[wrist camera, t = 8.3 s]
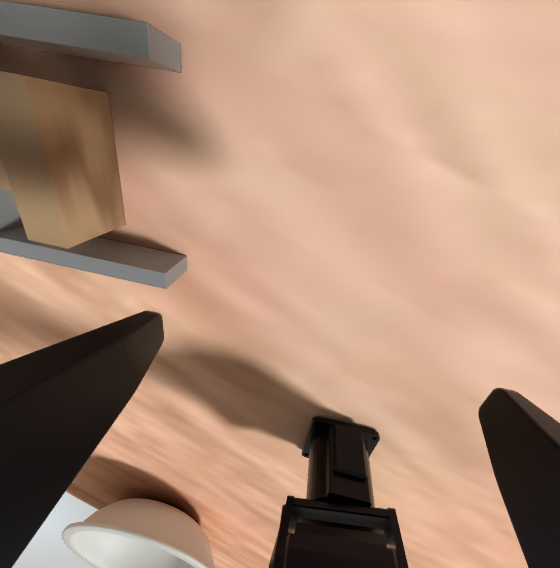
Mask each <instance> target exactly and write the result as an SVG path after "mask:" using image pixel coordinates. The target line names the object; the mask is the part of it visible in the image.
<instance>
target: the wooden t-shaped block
mask: <svg viewBox="0 0 560 568" xmlns="http://www.w3.org/2000/svg"><path fill="white" fill-rule="evenodd" d="M0 188H1V189H5V190H10V191H12V193H13V196H14V199H15V202H16V205H17V208H18V211H19V214H20V217H21V220H22V223H23V226H24V229H25V232H26V235H27V238H28V240H32V241H36V242H40V243H45V244H49V245H54V246H58V247H62V248H67V249H68V248H71V247H73V246H76V245H78V244H80V243H83V242H85V241H88V240H90V239H92V238H95V237H97V236H100V235H102V234H104V233H107V232H109V231H112V230H114V229H117V228H119V227H121V226H124V225H126V221H125V214H124V206H123V199H122V191H121V183H120V176H119V168H118V161H117V153H116V146H115V138H114V131H113V123H112V116H111V108H110V100H109V93H106V92H101V91H96V90H91V89H87V88H82V87H77V86H72V85H68V84H63V83H58V82H53V81H48V80H44V79H39V78H34V77H29V76H25V75H19V74H14V73H9V72H3V71H0Z"/></svg>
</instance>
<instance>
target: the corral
mask: <svg viewBox="0 0 560 568" xmlns="http://www.w3.org/2000/svg"><path fill="white" fill-rule="evenodd" d="M0 44H6V45H12V46H18V47H25V48H31V49H37V50H43V51H49V52H56V53H62V54H68V55H74V56H80V57H87V58H93V59H99V60H105V61H111V62H117V63H124V64H130V65H136V66H142V67H148V68H155V69H161V70H167V71H173V72H179V73H181V44H180V43H178V42H176V41H175V40H173V39H172V38H170V37H169V36H167V35H165V34H164V33H162V32H161V31H159V30H158V29H156V28H154V27H153V26H151V25H150V24H148V23H147V22H141V21H134V20H127V19H120V18H114V17H107V16H100V15H94V14H87V13H80V12H73V11H67V10H60V9H53V8H47V7H40V6H33V5H26V4H20V3H13V2H6V1H0ZM0 252H2V253H7V254H11V255H16V256H20V257H25V258H29V259H34V260H38V261H43V262H47V263H52V264H56V265H61V266H65V267H70V268H74V269H79V270H83V271H88V272H92V273H97V274H101V275H106V276H110V277H115V278H119V279H123V280H128V281H132V282H137V283H141V284H146V285H150V286H155V287H159V288H164V289H167V288H168V287H169V286H170V285H171V284H172V283H173V282H175V281H176V280H177V279H178V278H179V277H180V276H181V275H182V274H183V273H184V272H185V271H187V256H184V255H180V254H175V253H170V252H166V251H161V250H156V249H151V248H147V247H142V246H137V245H133V244H128V243H123V242H118V241H114V240H109V239H104V238H100V237H95V238H92V239H90V240H88V241H85V242H83V243H80V244H78V245H76V246H73V247H71V248H68V249H67V248H62V247H58V246H54V245H49V244H45V243H40V242H36V241H32V240H28V238H27V235H26V232H25V229H24V226H23V223H22V220H21V217H20V214H19V211H18V208H17V205H16V202H15V199H14V196H13V193H12V191H10V190H5V189H1V188H0Z"/></svg>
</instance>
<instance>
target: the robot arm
mask: <svg viewBox="0 0 560 568" xmlns="http://www.w3.org/2000/svg"><path fill="white" fill-rule="evenodd" d="M163 340H164V330H163V320H162V316H161V314H159V313H156V312H152V311H143V312H140V313H138V314H135V315H132V316H130V317H127V318H124V319H122V320H119V321H116V322H114V323H111V324H108V325H105V326H103V327H100V328H97V329H95V330H92V331H89V332H87V333H84V334H81V335H78V336H76V337H73V338H70V339H68V340H65V341H62V342H60V343H57V344H54V345H51V346H49V347H46V348H43V349H41V350H38V351H35V352H33V353H30V354H27V355H24V356H22V357H19V358H16V359H14V360H11V361H8V362H6V363H3V364H0V568H12V566H13V565H14V564H15V562H16V561H17V559H18V558H19V556H20V555H21V554H22V552H23V551H24V549H25V548H26V547H27V545H28V544H29V542H30V541H31V539H32V538H33V537H34V535H35V534H36V532H37V531H38V529H39V528H40V527H41V525H42V524H43V522H44V521H45V520H46V518H47V517H48V515H49V514H50V512H51V511H52V510H53V508H54V507H55V505H56V504H57V502H58V501H59V500H60V498H61V497H62V495H63V494H64V493H65V491H66V490H67V488H68V487H69V485H70V484H71V483H72V481H73V480H74V478H75V477H76V475H77V474H78V473H79V471H80V470H81V468H82V467H83V465H84V464H85V463H86V461H87V460H88V458H89V457H90V456H91V454H92V453H93V451H94V450H95V448H96V447H97V446H98V444H99V443H100V441H101V440H102V438H103V437H104V436H105V434H106V433H107V431H108V430H109V429H110V427H111V426H112V424H113V423H114V421H115V420H116V419H117V417H118V416H119V414H120V413H121V411H122V410H123V409H124V407H125V406H126V404H127V403H128V401H129V400H130V399H131V397H132V396H133V394H134V393H135V391H136V389H137V388H138V386H139V384H140V383H141V381H142V379H143V377H144V375H145V374H146V372H147V370H148V368H149V366H150V365H151V363H152V361H153V359H154V358H155V356H156V354H157V352H158V350H159V349H160V347H161V345H162V343H163ZM478 414H479V420H480V424H481V427H482V431H483V435H484V438H485V442H486V446H487V449H488V453H489V456H490V460H491V464H492V467H493V471H494V474H495V478H496V481H497V484H498V487H499V490H500V492H501V495H502V498H503V501H504V503H505V506H506V509H507V511H508V514H509V517H510V519H511V522H512V525H513V527H514V530H515V533H516V535H517V538H518V541H519V543H520V546H521V549H522V551H523V554H524V557H525V559H526V562H527V565H528V567H529V568H560V423H559V422H557V421H556V420H555V419H553V418H552V417H551V416H549V415H548V414H547V413H545V412H544V411H542V410H541V409H540V408H538V407H537V406H536V405H534V404H533V403H532V402H530V401H529V400H528V399H526V398H525V397H523V396H522V395H521V394H519V393H518V392H516V391H513V390H508V389H504V388H496V389H494V390H493V391H492V392H491V393H490V395H489V396H488V397H487V398H486V400H485V401H484V402H483V404H482V405H481V406H480V408H479V413H478ZM379 439H380V437H379V433H378V432H376V431H372V430H368V429H364V428H360V427H356V426H352V425H348V424H344V423H340V422H336V421H332V420H328V419H324V418H320V417H314V418H313V419H312V422H311V425H310V428H309V431H308V434H307V437H306V440H305V443H304V446H303V449H302V456H304V457H307V458H309V467H308V482H307V497H306V499H302V498H294V496H287V501H286V504H285V505H283V507H282V514H281V522H280V528H279V532H278V536H277V539H276V543H275V546H274V550H273V553H272V556H271V560H270V563H269V568H408V564H407V559H406V555H405V550H404V546H403V542H402V537H401V533H400V528H399V524H398V520H397V515H396V511H395V509H394V508H388V509H382V508H375V505H374V496H373V488H372V480H371V472H370V463H369V457H370V455H371V453H372V451H373V450H374V448H375V446H376V445H377V443H378V441H379Z"/></svg>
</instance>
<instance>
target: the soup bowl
mask: <svg viewBox="0 0 560 568" xmlns="http://www.w3.org/2000/svg"><path fill="white" fill-rule="evenodd" d="M62 539H63V541H64V543H65V544H66V545H67V547H68V548H69V549H70V550H71V551H72V552H73V553H74V554H76V555H77V556H78V557H80V558H81V559H82V560H84V561H85V562H87V563H88V564H90V565H92V566H93V567H95V568H214V561H213V555H212V551H211V547H210V544H209V541H208V539H207V537H206V535H205V533H204V531H203V530H202V528H201V527H200V526H199V525H198V524H197V523H196V522H195V521H194V520H193V519H192V518H191V517H190V516H188V515H187V514H185V513H184V512H182V511H181V510H179V509H177V508H175V507H173V506H170V505H168V504H165V503H162V502H159V501H155V500H150V499H142V498H132V499H125V500H121V501H117V502H114V503H112V504H109V505H107V506H105V507H103V508H101V509H100V510H98V511H96V512H95V513H94V514H92V515H91V516H90V517H88V518H87V519H86V520H85V521H84V522H77V523H73V524H70V525H68V526H67V527H66V528H65V529H64V531H63V532H62Z"/></svg>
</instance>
